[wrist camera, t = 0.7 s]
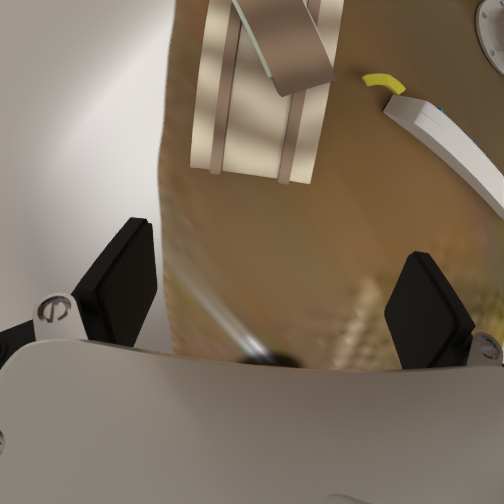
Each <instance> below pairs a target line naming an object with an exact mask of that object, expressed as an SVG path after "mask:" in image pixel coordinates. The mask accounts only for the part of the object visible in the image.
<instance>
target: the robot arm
mask: <svg viewBox="0 0 504 504" xmlns="http://www.w3.org/2000/svg"><path fill="white" fill-rule="evenodd" d="M475 18H476V30H477V35H478V38H479V42H480V44H481V47H482V49H483V51H484V53H485V55H486V57H487V58H488V60H489V61H490V63H491V64H492V65H493V67H494V68H495V69H496V70H497V71H498V72H499V73H500V74H501V75H503V76H504V1H503V0H484V1H482V2H481V3H480V5H479V6H478V8H477V11H476V17H475ZM156 292H157V277H156V265H155V255H154V242H153V228H152V224H151V223H148V221H147V219H144V218H134V217H131V218H130V219H129V220H128V221H127V222H126V223H125V224H124V226H123V227H122V228H121V229H120V230H119V232H118V233H117V234H116V235H115V237H114V238H113V239H112V240H111V242H110V243H109V244H108V245H107V246H106V248H105V249H104V250H103V252H102V253H101V254H100V255H99V257H98V258H97V259H96V261H95V262H94V263H93V264H92V266H91V267H90V268H89V270H88V271H87V272H86V274H85V275H84V276H83V278H82V279H81V281H80V282H79V283H78V285H77V286H76V288H75V289H74V291H73V292H72V293H71V295H70V294H67V293H64V292H63V293H62V292H58V293H53V294H49V295H47V296H45V297H43V298H42V299H41V300H39V302H38V303H37V304H36V305H35V307H34V309H33V319H32V320H30V321H27V322H25V323H22V324H20V325H17V326H15V327H12V328H10V329H7V330H5V331H2V332H0V504H504V364H503V363H502V361H503V351H502V348H501V346H500V345H499V343H498V342H497V341H496V340H495V338H493V337H492V336H491V335H489V334H487V333H483V332H479V333H476V334H475V335H474V336H472V334H471V332H472V331H473V329H474V328H475V324H474V322H473V320H472V319H471V317H470V315H469V314H468V312H467V310H466V309H465V307H464V305H463V304H462V302H461V301H460V299H459V297H458V296H457V294H456V293H455V291H454V290H453V288H452V287H451V285H450V283H449V282H448V280H447V279H446V277H445V276H444V274H443V273H442V272H441V270H440V269H439V267H438V266H437V264H436V263H435V261H434V260H433V259H432V257H431V256H430V254H428V253H424V252H418V251H415V252H413V253H412V254H410V255H409V256H408V258H407V260H406V262H405V265H404V267H403V270H402V272H401V274H400V277H399V279H398V281H397V284H396V286H395V288H394V290H393V293H392V295H391V297H390V299H389V301H388V303H387V305H386V308H385V311H384V316H385V319H386V322H387V325H388V328H389V330H390V333H391V336H392V339H393V342H394V345H395V348H396V351H397V353H398V356H399V359H400V363H401V366H402V370H328V369H304V368H287V367H274V366H262V365H251V364H241V363H232V362H223V361H215V360H207V359H200V358H193V357H186V356H180V355H174V354H167V353H160V352H155V351H150V350H144V349H139V348H133V347H134V344H135V342H136V339H137V337H138V335H139V332H140V330H141V327H142V325H143V323H144V320H145V318H146V316H147V313H148V311H149V309H150V306H151V304H152V302H153V300H154V297H155V295H156Z"/></svg>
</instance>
